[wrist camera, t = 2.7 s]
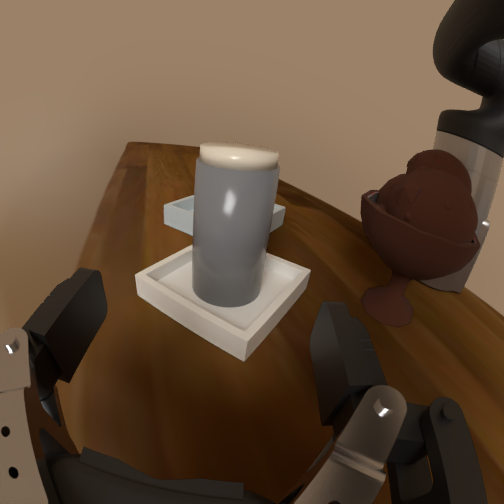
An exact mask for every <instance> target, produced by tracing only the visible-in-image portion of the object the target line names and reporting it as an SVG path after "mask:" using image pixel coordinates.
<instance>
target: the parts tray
mask: <svg viewBox="0 0 504 504" xmlns="http://www.w3.org/2000/svg"><path fill="white" fill-rule="evenodd" d="M192 246H193V245H191V246H189V247H187V248H185V249H183V250H181V251H179V252H177V253H175V254H173V255H171V256H169V257H167V258H165V259H164V260H162V261H160V262H158V263H156V264H154V265H152V266H150V267H148V268H146V269H145V270H143V271H141V272H139V273H137V274H135V278H136V286H137V293H138V295H139V296H140V297H141V298H143V299H144V300H146V301H147V302H149V303H150V304H151V305H153V306H154V307H156V308H157V309H159V310H160V311H162V312H163V313H165V314H166V315H168V316H169V317H171V318H172V319H174V320H175V321H177V322H178V323H180V324H182V325H183V326H185V327H186V328H188V329H189V330H191V331H193V332H194V333H196V334H197V335H199V336H201V337H202V338H204V339H206V340H207V341H209V342H211V343H212V344H214V345H216V346H217V347H219V348H221V349H222V350H224V351H226V352H228V353H229V354H231V355H233V356H235V357H236V358H238V359H240V360H242V361H244V362H245V360H246V359H247V358H248V357H249V356H250V355H251V354H252V353H253V351H254V350H255V349H256V348H257V347H258V346H259V345H260V343H261V342H262V341H263V340H264V339H265V338H266V336H267V335H268V334H269V333H270V332H271V331H272V329H273V328H274V327H275V326H276V325H277V324H278V322H279V321H280V320H281V319H282V318H283V316H284V315H285V314H286V313H287V312H288V310H289V309H290V308H291V307H292V305H293V304H294V303H295V302H296V301H297V299H298V298H299V297H300V296H301V294H302V293H303V292H304V291H305V289H306V287H307V283H308V280H309V276H310V272H311V270H309V269H307V268H304V267H302V266H299V265H297V264H294V263H292V262H289V261H286V260H284V259H281V258H279V257H276V256H274V255H271V254H269V253H266V259H265V265H264V271H263V277H262V283H261V289H260V293H259V295H258V297H257V298H256V299H255V300H254V301H253V302H251V303H249V304H247V305H244V306H240V307H233V308H226V307H218V306H214V305H211V304H208V303H206V302H204V301H203V300H201V299H200V298H199V297H198V296H197V295H196V294H195V293H194V291H193V288H192Z"/></svg>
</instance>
